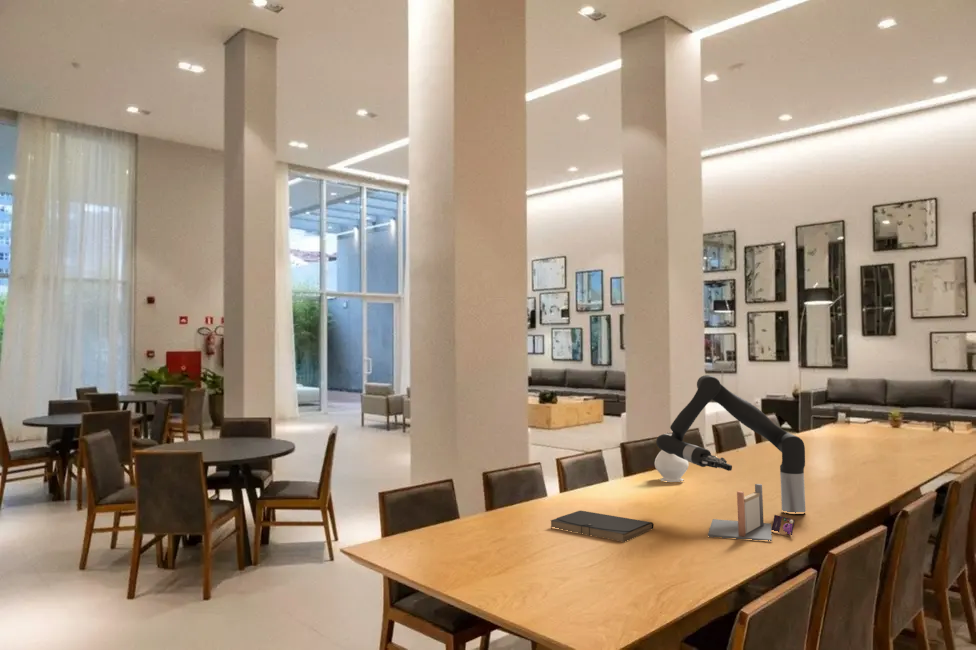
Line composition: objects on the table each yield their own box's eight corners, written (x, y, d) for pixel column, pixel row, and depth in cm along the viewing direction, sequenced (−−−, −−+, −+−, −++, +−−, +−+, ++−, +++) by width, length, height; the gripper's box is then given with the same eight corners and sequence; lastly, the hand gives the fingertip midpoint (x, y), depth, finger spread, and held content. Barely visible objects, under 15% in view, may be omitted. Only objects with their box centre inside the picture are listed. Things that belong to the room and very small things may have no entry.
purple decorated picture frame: (773, 514, 249) (792, 519, 241) (782, 517, 251) (802, 522, 243) (769, 531, 248) (789, 537, 239) (779, 534, 250) (798, 540, 241)
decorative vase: (692, 479, 354) (691, 433, 356) (683, 485, 339) (682, 437, 341) (660, 476, 364) (659, 431, 365) (650, 482, 349) (649, 435, 350)
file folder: (550, 519, 259) (582, 508, 278) (550, 529, 259) (582, 518, 277) (623, 532, 238) (653, 520, 256) (623, 544, 238) (653, 530, 256)
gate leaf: (755, 525, 253) (754, 492, 253) (760, 525, 251) (759, 492, 252) (741, 532, 242) (740, 498, 243) (746, 533, 241) (745, 499, 241)
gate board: (712, 521, 265) (711, 479, 266) (771, 526, 256) (769, 482, 257) (707, 536, 243) (706, 491, 244) (771, 542, 234) (769, 495, 235)
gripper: (687, 447, 269) (721, 459, 254) (708, 446, 276) (742, 458, 261) (684, 464, 269) (718, 478, 255) (705, 463, 276) (740, 476, 262)
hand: (730, 468), depth 258 cm, fingers closed
